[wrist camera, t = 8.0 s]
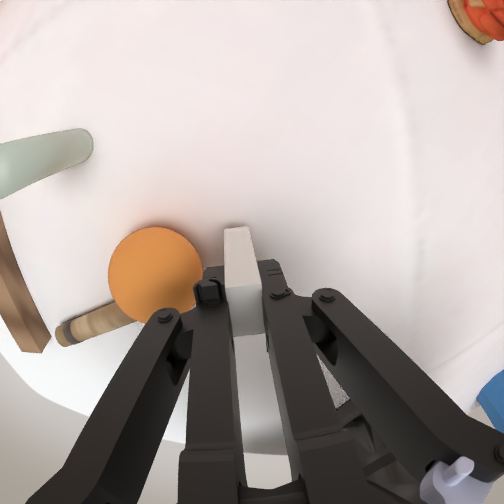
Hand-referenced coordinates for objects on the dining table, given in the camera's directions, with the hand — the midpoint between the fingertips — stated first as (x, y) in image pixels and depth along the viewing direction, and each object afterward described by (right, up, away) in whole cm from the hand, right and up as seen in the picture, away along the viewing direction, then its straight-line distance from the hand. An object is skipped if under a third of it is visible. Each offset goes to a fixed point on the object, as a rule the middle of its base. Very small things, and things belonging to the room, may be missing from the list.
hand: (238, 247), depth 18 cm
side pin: (-11, +7, -2) cm, 13 cm away
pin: (-8, -4, +2) cm, 9 cm away
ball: (-5, -2, -1) cm, 5 cm away
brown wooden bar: (-21, 0, 0) cm, 21 cm away
